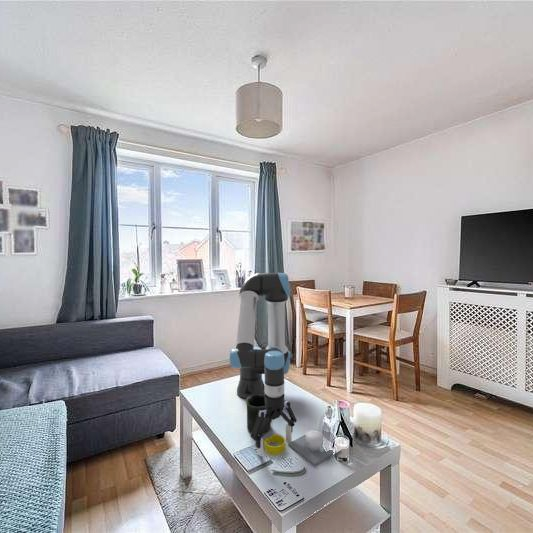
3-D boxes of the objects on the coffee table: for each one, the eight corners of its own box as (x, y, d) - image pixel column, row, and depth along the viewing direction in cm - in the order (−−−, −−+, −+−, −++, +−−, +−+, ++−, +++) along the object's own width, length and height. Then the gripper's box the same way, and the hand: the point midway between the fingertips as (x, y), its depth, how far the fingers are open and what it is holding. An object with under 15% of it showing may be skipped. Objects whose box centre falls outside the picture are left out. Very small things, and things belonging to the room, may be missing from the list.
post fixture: (288, 445, 114) (288, 433, 114) (314, 432, 123) (314, 420, 122) (314, 466, 103) (314, 453, 103) (340, 450, 111) (341, 437, 111)
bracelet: (289, 449, 113) (289, 440, 113) (273, 458, 108) (273, 450, 108) (276, 439, 118) (276, 431, 118) (260, 448, 113) (260, 440, 113)
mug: (249, 438, 119) (249, 409, 119) (242, 418, 133) (241, 392, 133) (275, 433, 122) (274, 404, 122) (265, 414, 136) (264, 389, 136)
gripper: (252, 407, 102) (252, 467, 103) (305, 388, 116) (305, 440, 117) (241, 399, 108) (241, 455, 109) (293, 381, 122) (293, 431, 123)
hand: (274, 448), depth 113 cm, fingers open, 13 cm apart
